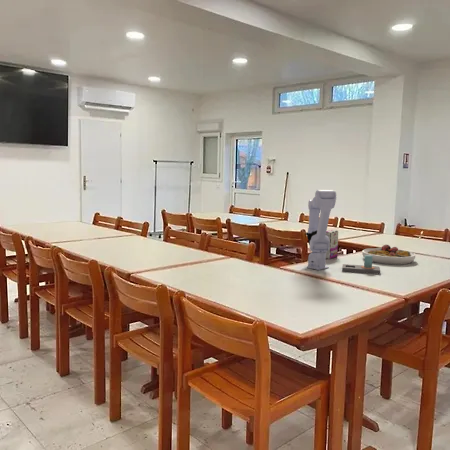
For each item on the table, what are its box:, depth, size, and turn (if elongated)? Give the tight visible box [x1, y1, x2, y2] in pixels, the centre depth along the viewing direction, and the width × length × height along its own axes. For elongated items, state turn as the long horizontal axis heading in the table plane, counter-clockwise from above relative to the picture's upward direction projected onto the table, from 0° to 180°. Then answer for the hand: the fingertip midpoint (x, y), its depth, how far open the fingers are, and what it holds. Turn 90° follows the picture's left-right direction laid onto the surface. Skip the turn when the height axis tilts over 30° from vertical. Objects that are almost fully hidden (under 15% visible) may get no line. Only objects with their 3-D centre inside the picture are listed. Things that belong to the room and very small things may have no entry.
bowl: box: [361, 244, 416, 265], centre depth 271 cm, size 30×30×8 cm
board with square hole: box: [341, 263, 381, 275], centre depth 240 cm, size 19×10×2 cm, turn 74°
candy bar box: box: [326, 229, 339, 260], centre depth 275 cm, size 11×5×16 cm, turn 143°
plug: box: [363, 255, 373, 268], centre depth 239 cm, size 4×4×6 cm
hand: (313, 244), depth 261 cm, fingers open, 7 cm apart
